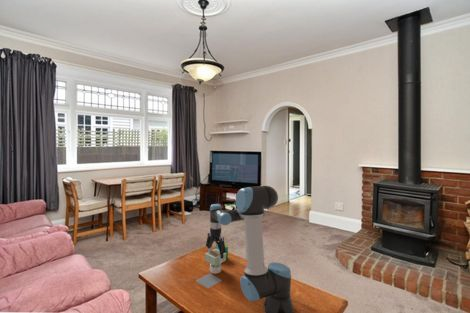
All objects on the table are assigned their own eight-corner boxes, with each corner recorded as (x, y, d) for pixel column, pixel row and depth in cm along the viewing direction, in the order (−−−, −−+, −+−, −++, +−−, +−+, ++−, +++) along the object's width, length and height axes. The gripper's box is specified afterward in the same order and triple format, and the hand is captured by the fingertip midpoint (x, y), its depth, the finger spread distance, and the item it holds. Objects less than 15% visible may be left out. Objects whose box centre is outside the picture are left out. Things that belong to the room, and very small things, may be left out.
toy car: (206, 258, 186) (206, 245, 186) (223, 255, 192) (223, 242, 191) (211, 264, 177) (211, 250, 177) (228, 260, 183) (228, 247, 182)
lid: (225, 260, 168) (226, 252, 168) (214, 265, 161) (214, 257, 161) (215, 255, 175) (215, 248, 175) (204, 260, 168) (204, 253, 167)
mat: (222, 280, 157) (222, 280, 157) (207, 288, 148) (207, 288, 148) (209, 273, 165) (209, 273, 165) (195, 281, 156) (195, 280, 156)
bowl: (223, 270, 169) (223, 265, 168) (215, 275, 163) (215, 269, 163) (215, 266, 174) (215, 261, 173) (207, 270, 168) (207, 265, 168)
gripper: (231, 230, 162) (231, 263, 163) (208, 222, 177) (208, 252, 178) (223, 233, 156) (223, 268, 158) (200, 224, 172) (200, 256, 173)
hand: (215, 259), depth 168 cm, fingers closed on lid, 10 cm apart
